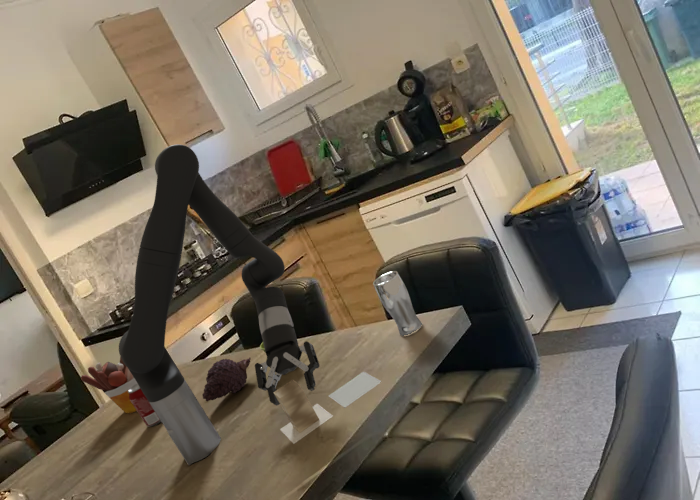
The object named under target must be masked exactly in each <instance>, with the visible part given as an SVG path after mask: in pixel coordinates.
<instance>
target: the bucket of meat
mask: <svg viewBox="0 0 700 500" xmlns="http://www.w3.org/2000/svg"><path fill="white" fill-rule="evenodd" d="M119 357H120V358H119V362H118V363H117V364H115V363H112V362H110V361H107V362H105V363H104V364H103V365H102V363H101V362H97V363H96V364H95V367H94V366H90V367H88V368H87V372H88V374H89V375H90V376H89V375H87V374H83V375H81V376H80V379H81V381H82V382H84V383H86V384H87V385H90V386H91V387H94V388H95V389H97V390H101V391H102V392H103V393H104V394H105V395H106V397H108V398H109V399H110V400H112V402H113V403H115V405H116V406H118V408H120V410H122V411H123V413H126V414H133V413H136V412H137V410H136V408H135V407H134V405H133V404H132V402H131V401H130V399H129V393H128V390H129V389H130V388H131V387H132V386H134V385H135V384H137V382H136V380H135V378H134V377H133V375H132V374H131V372H130V371H129V369H128V368H127V367H126V365H125V364H124V363H123V361H122V359H121V356H120V355H119ZM137 413H138V412H137Z"/></svg>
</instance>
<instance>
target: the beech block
mask: <svg viewBox="0 0 700 500" xmlns="http://www.w3.org/2000/svg"><path fill="white" fill-rule="evenodd" d="M273 393H274V395H275V396H276V398H277V400H278V401H279V403H280V404H279V406H281V408H282V410H283V412H284V413H285V415H286V417H287V419H288V421H289V423H290V422H291V424H292V426H293V427H294V428H295V429H296V430H297V431H298V432H299V433H301V432H302V431H304V430H305V429H306V428H308V427H309V426H311V425H312V424H314V423H315V422H316V421H318V420H319V418H318V416H317V414H316V412H315V411H314V409H313V405H312V404H311V401H309V398H308V396H307V394H306V393H305V391H304V388H302V386H301V385H300V384H299V383H298V382H296V381H295V380H294V379H291V380H290V381H288V382H286V383H285V384H284V385H282V386H281V387H279V388H278V389H277V390H276V391H275V392H273Z"/></svg>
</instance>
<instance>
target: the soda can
mask: <svg viewBox="0 0 700 500" xmlns="http://www.w3.org/2000/svg"><path fill="white" fill-rule="evenodd" d="M128 393H129V399H130V401H131V402H132V404H133V405H134V407H135V408H136V410H137V414H138V415H139V416H140V418H141V419H142V421H143V423H144V424H145V426H147V427H155V426H157V425H159V424H160V423H162V422H161V420H160V419H159V417H158V415H157V414H156V412H155V411H154V409H153V407H152V406H151V404H150V403H149V401H148V400H147V398H146V397H145V395H144V394H143V392H142V390H141V389H140V387H139V385H138V383H137V384H135V385H134V386H132V387H131V388H130V389H129V390H128Z"/></svg>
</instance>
